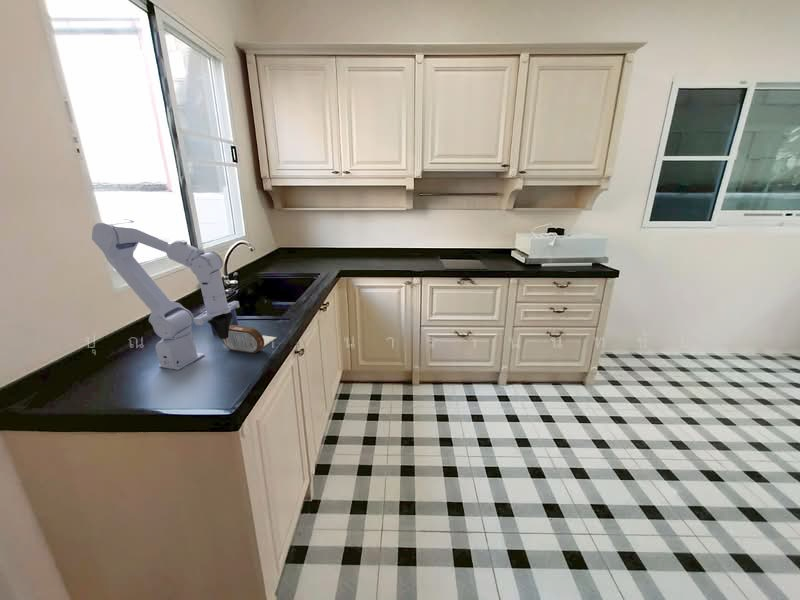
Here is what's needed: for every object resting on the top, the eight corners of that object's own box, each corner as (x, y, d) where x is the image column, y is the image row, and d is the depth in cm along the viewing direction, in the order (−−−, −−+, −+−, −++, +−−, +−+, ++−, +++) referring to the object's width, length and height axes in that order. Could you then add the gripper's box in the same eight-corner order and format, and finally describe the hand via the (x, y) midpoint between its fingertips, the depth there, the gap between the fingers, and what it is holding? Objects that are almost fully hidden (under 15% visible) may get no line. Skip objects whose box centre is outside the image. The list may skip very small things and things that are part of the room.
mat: (259, 349, 110) (259, 348, 110) (235, 345, 113) (235, 344, 113) (276, 338, 117) (276, 337, 117) (253, 335, 120) (252, 334, 120)
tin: (266, 351, 109) (262, 327, 106) (260, 355, 106) (255, 331, 103) (229, 346, 113) (224, 323, 110) (222, 350, 110) (216, 326, 107)
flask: (237, 326, 129) (231, 300, 125) (240, 328, 127) (235, 301, 123) (212, 334, 122) (205, 307, 119) (215, 336, 121) (208, 308, 117)
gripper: (203, 304, 89) (215, 350, 93) (243, 288, 102) (252, 329, 106) (183, 302, 91) (195, 347, 95) (225, 287, 104) (234, 327, 108)
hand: (224, 337), depth 101 cm, fingers closed
